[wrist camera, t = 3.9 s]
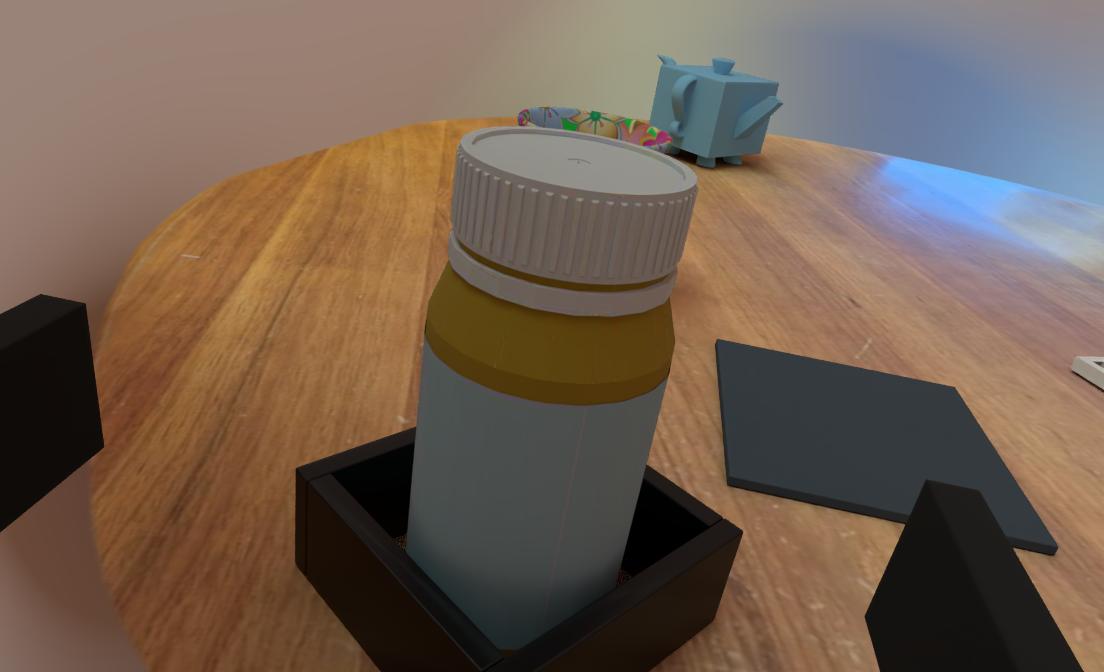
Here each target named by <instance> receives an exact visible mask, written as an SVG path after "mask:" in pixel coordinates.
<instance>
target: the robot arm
mask: <svg viewBox="0 0 1104 672" xmlns="http://www.w3.org/2000/svg"><path fill="white" fill-rule="evenodd" d="M102 448H104V441H103V433H102V425H101V418H100V410H99V402H98V395H97V387H96V379H95V372H94V364H93V356H92V349H91V341H90V333H89V325H88V318H87V311H86V304H85V303H81V302H76V301H71V300H66V299H62V298H57V297H52V296H47V295H43V294H40V295H38V296H36V297H34V298H32V299H30V300H28V301H26V302H24V303H22V304H20V305H18V306H16V307H14V308H12V309H10V310H8V311H6V312H4V313H2V314H0V532H1V531H3V530H4V529H5V528H6V527H7V526H9V525H10V524H11V523H12V522H13V521H15V520H16V519H17V518H18V517H20V516H21V515H22V514H23V513H24V512H26V511H27V510H28V509H29V508H30V507H32V506H33V505H34V504H35V503H36V502H38V501H39V500H40V499H42V498H43V497H44V496H45V495H46V494H48V493H49V492H50V491H51V490H52V489H54V488H55V487H56V486H57V485H59V484H60V483H61V482H62V481H63V480H65V479H66V478H67V477H68V476H69V475H71V474H72V473H73V472H74V471H76V470H77V469H78V468H79V467H81V466H82V465H83V464H84V463H85V462H87V461H88V460H89V459H90V458H92V457H93V456H94V455H95V454H96V453H98V452H99V451H100V450H101V449H102ZM865 620H866V623H867V627H868V630H869V634H870V637H871V641H872V644H873V648H874V651H875V655H876V658H877V662H878V665H879V669H880V672H1084V671H1083V670H1082V668H1081V666H1080V664H1079V663H1078V661H1077V659H1076V657H1075V656H1074V654H1073V652H1072V650H1071V649H1070V647H1069V645H1068V643H1067V642H1066V640H1065V638H1064V637H1063V635H1062V633H1061V631H1060V630H1059V628H1058V626H1057V624H1056V623H1055V621H1054V619H1053V617H1052V616H1051V614H1050V612H1049V610H1048V609H1047V607H1046V605H1045V604H1044V602H1043V600H1042V598H1041V597H1040V595H1039V593H1038V591H1037V590H1036V588H1035V586H1034V584H1033V583H1032V581H1031V579H1030V577H1029V576H1028V574H1027V572H1026V570H1025V569H1024V567H1023V565H1022V564H1021V562H1020V560H1019V558H1018V557H1017V555H1016V553H1015V551H1014V550H1013V548H1012V546H1011V544H1010V543H1009V541H1008V539H1007V537H1006V536H1005V534H1004V532H1003V531H1002V529H1001V527H1000V525H999V524H998V522H997V520H996V518H995V517H994V515H993V513H992V511H991V510H990V508H989V506H988V504H987V503H986V501H985V499H984V497H983V496H982V494H981V492H980V491H979V490H975V489H971V488H966V487H961V486H956V485H951V484H947V483H942V482H937V481H932V480H928V479H926V480H925V483H924V485H923V487H922V489H921V492H920V494H919V496H918V498H917V500H916V503H915V505H914V507H913V509H912V512H911V514H910V516H909V518H908V521H907V523H906V525H905V527H904V529H903V532H902V534H901V536H900V538H899V541H898V543H897V545H896V547H895V550H894V552H893V554H892V556H891V558H890V561H889V563H888V565H887V567H886V570H885V572H884V574H883V576H882V579H881V581H880V583H879V585H878V588H877V590H876V592H875V594H874V596H873V599H872V601H871V603H870V605H869V608H868V610H867V612H866V614H865Z"/></svg>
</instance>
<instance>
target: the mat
mask: <svg viewBox="0 0 1104 672" xmlns="http://www.w3.org/2000/svg"><path fill="white" fill-rule="evenodd" d="M715 349H716V361H717V373H718V384H719V396H720V407H721V419H722V430H723V442H724V454H725V465H726V477H727V484H728V485H731V486H736V487H740V488H745V489H750V490H754V491H759V492H763V493H768V494H773V495H777V496H782V497H786V498H791V499H796V500H800V501H805V502H810V503H814V504H819V505H823V506H828V507H833V508H837V509H842V510H847V511H851V512H856V513H860V514H865V515H870V516H874V517H879V518H884V519H888V520H893V521H897V522H902V523H907V521H908V518H909V516H910V514H911V512H912V509H913V507H914V505H915V503H916V500H917V498H918V496H919V494H920V492H921V489H922V487H923V485H924V483H925V480H926V479H928V480H932V481H937V482H942V483H947V484H951V485H956V486H961V487H966V488H971V489H975V490H979V491H980V492H981V494H982V496H983V497H984V499H985V501H986V503H987V504H988V506H989V508H990V510H991V511H992V513H993V515H994V517H995V518H996V520H997V522H998V524H999V525H1000V527H1001V529H1002V531H1003V532H1004V534H1005V536H1006V537H1007V539H1008V541H1009V543H1010V544H1011V546H1013V547H1018V548H1022V549H1027V550H1032V551H1036V552H1041V553H1045V554H1050V555H1054V554H1055V553H1056V551H1057V549H1058V545H1057V543H1056V542H1055V540H1054V539H1053V537H1052V536H1051V534H1050V533H1049V531H1048V530H1047V528H1046V527H1045V525H1044V524H1043V522H1042V520H1041V519H1040V517H1039V516H1038V514H1037V513H1036V511H1035V510H1034V508H1033V507H1032V505H1031V504H1030V502H1029V500H1028V499H1027V497H1026V496H1025V494H1024V493H1023V491H1022V490H1021V488H1020V487H1019V485H1018V484H1017V482H1016V480H1015V479H1014V477H1013V476H1012V474H1011V473H1010V471H1009V470H1008V468H1007V467H1006V465H1005V464H1004V462H1003V461H1002V459H1001V457H1000V456H999V454H998V453H997V451H996V450H995V448H994V447H993V445H992V444H991V442H990V441H989V439H988V437H987V436H986V434H985V433H984V431H983V430H982V428H981V427H980V425H979V424H978V422H977V421H976V419H975V417H974V416H973V414H972V413H971V411H970V410H969V408H968V407H967V405H966V404H965V402H964V401H963V399H962V398H961V396H960V394H959V393H958V391H957V390H956V388H955V387H951V386H947V385H942V384H937V383H932V382H927V381H922V380H917V379H912V378H907V377H902V376H897V375H892V374H888V373H883V372H878V371H873V370H868V369H863V368H858V367H853V366H848V365H843V364H838V363H833V362H828V361H824V360H819V359H814V358H809V357H804V356H799V355H794V354H789V353H784V352H779V351H774V350H769V349H765V348H760V347H755V346H750V345H745V344H740V343H735V342H730V341H725V340H720V339H717V340H716V344H715Z"/></svg>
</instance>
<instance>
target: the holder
mask: <svg viewBox="0 0 1104 672" xmlns="http://www.w3.org/2000/svg"><path fill="white" fill-rule="evenodd" d="M415 437H416V427H414V428H411V429H408V430H405V431H402V432H399V433H396V434H393V435H390V436H388V437H385V438H382V439H379V440H376V441H373V442H370V443H367V444H364V445H361V446H358V447H355V448H353V449H350V450H347V451H344V452H341V453H338V454H335V455H332V456H329V457H326V458H323V459H321V460H318V461H315V462H312V463H309V464H306V465H303V466H300V467H297V468H296V500H295V563H296V565H297V566H298V567H299V568H300V570H301V571H302V572H303V573H304V575H305V576H307V579H308V580H309V581H310V582H311V584H312V585H313V586H314V587H315V589H316V590H317V591H318V592H319V594H320V595H321V596H322V597H323V599H324V600H325V601H326V602H327V604H328V605H329V606H330V607H331V609H332V610H333V611H334V612H335V614H336V615H337V616H338V617H339V619H340V620H341V621H342V622H343V624H344V625H345V626H346V627H347V629H348V630H349V631H350V632H351V634H352V635H353V636H354V637H355V639H356V640H357V641H358V642H359V644H360V645H361V646H362V647H363V649H364V650H365V651H366V653H367V654H368V655H369V656H370V658H371V659H372V660H373V661H374V663H375V664H376V665H377V666H378V668H379V669H380V670H381V671H382V672H648V671H649V670H650V669H651V668H653V667H654V666H655V665H657V664H658V663H659V662H660V661H662V660H663V659H664V658H666V657H667V656H668V655H669V654H671V653H672V652H673V651H675V650H676V649H677V648H678V647H680V646H681V645H682V644H684V643H685V642H686V641H687V640H689V639H690V638H691V637H693V636H694V635H695V634H696V633H698V632H699V631H700V630H702V629H703V628H704V627H705V626H707V625H708V624H709V623H711V622H712V621H713V620H714V618H715V615H716V612H717V609H718V606H719V603H720V600H721V597H722V594H723V591H724V588H725V585H726V582H727V579H728V576H729V573H730V570H731V567H732V565H733V562H734V559H735V556H736V553H737V550H738V547H739V544H740V541H741V538H742V535H743V531H742V530H741V529H740V528H738V527H737V526H735V525H734V524H732V523H731V522H729V521H728V520H727V519H723V517H722V516H721V515H719V514H718V513H716V512H715V511H713V510H712V509H710V508H709V507H708V506H706V505H705V504H703V503H702V502H700V501H699V500H697V499H696V498H695V497H693V496H692V495H690V494H689V493H687V492H686V491H684V490H683V489H682V488H680V487H679V486H677V485H676V484H674V483H673V482H671V481H670V480H669V479H667V478H666V477H664V476H663V475H661V474H660V473H658V472H657V471H656V470H654V469H653V468H651V467H650V466H648V465H647V464H646V468H645V472H644V476H643V480H642V484H641V487H640V491H639V495H638V499H637V503H636V507H635V511H634V515H633V519H632V523H631V527H630V531H629V535H628V539H627V543H626V547H625V551H624V555H623V559H622V563H621V565H622V566H623V567H624V568H626V569H627V570H628V571H629V572H630V573H632V574H633V575H634V576H633V577H632V578H630V579H629V580H627V581H626V582H624V583H622V584H621V585H619V586H618V587H616V588H615V589H613V590H611V591H610V592H608V593H607V594H605V595H604V596H602V597H600V598H599V599H597V600H596V601H594V602H593V603H591V604H589V605H588V606H586V607H585V608H583V609H582V610H580V611H579V612H577V613H575V614H574V615H572V616H571V617H569V618H568V619H566V620H564V621H563V622H561V623H560V624H558V625H557V626H555V627H553V628H552V629H550V630H549V631H547V632H546V633H544V634H542V635H541V636H539V637H538V638H536V639H535V640H533V641H531V642H530V643H528V644H527V645H525V646H524V647H522V648H521V649H519V650H517V651H516V652H514V653H513V654H511V655H510V656H508V657H506V658H505V656H504V654H503V653H502V652H501V651H500V650H499V649H498V648H497V647H496V646H495V645H494V644H493V643H492V642H491V641H490V640H489V639H488V638H487V637H486V636H485V635H484V634H483V633H482V631H481V630H480V629H479V628H478V627H477V626H476V625H475V624H474V623H473V622H472V621H471V620H470V619H469V618H468V617H467V616H466V615H465V614H464V613H463V612H462V611H461V610H460V608H459V607H458V606H457V605H456V604H455V603H454V602H453V601H452V600H451V599H450V598H449V597H448V596H447V595H446V594H445V593H444V592H443V591H442V590H441V589H440V588H439V586H438V585H437V584H436V583H435V582H434V581H433V580H432V579H431V578H430V577H429V576H428V575H427V574H426V573H425V572H424V571H423V570H422V569H421V568H420V567H419V566H418V565H417V563H416V562H415V561H414V560H413V559H412V558H411V557H410V556H409V555H408V554H407V553H406V552H405V551H404V550H403V549H402V548H401V547H400V546H399V545H398V544H397V543H396V542H395V540H394V539H393V538H394V537H396V536H398V535H401V534H403V533H405V532H407V530H408V519H409V507H410V495H411V484H412V472H413V461H414V449H415Z"/></svg>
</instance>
